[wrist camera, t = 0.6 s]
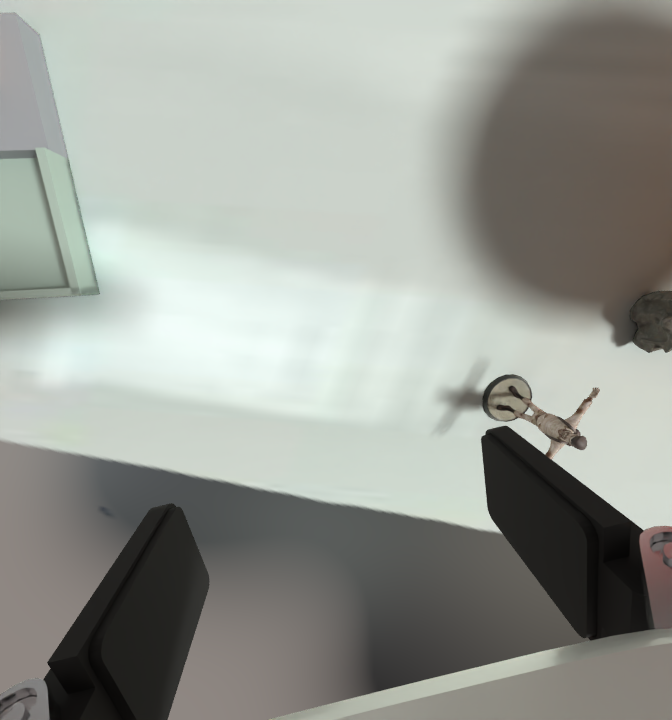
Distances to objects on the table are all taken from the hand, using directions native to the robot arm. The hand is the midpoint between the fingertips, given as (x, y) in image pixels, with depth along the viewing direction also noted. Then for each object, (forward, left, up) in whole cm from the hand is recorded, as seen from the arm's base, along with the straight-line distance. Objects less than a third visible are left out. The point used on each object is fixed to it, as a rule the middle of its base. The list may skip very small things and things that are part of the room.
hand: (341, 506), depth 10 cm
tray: (-12, -32, -30) cm, 45 cm away
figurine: (+10, +24, -30) cm, 40 cm away
